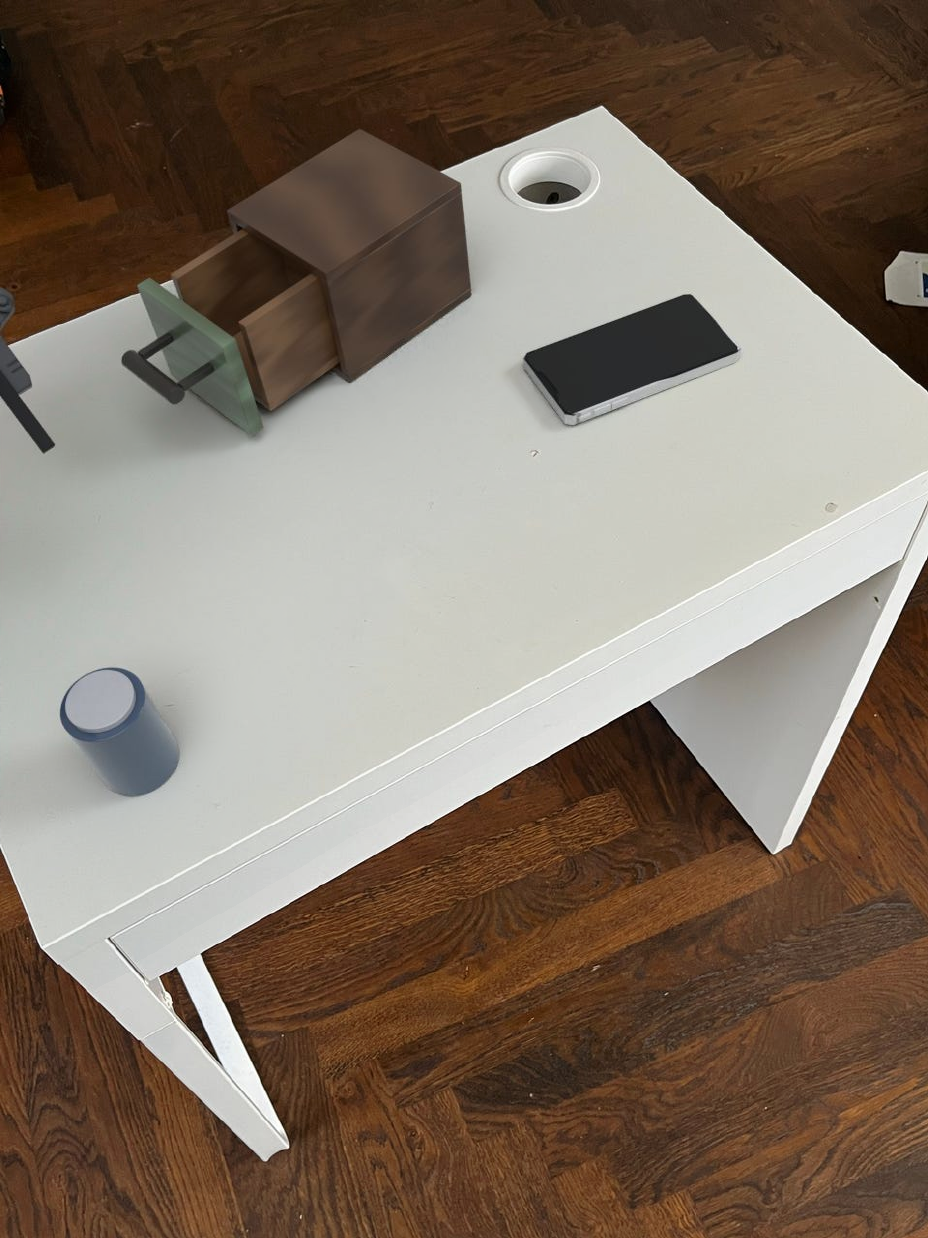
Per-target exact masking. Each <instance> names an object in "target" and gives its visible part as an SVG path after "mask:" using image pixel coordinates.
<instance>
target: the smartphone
mask: <svg viewBox="0 0 928 1238" xmlns="http://www.w3.org/2000/svg"><path fill="white" fill-rule="evenodd" d="M741 351H742V348H741V346H740V345H739V344H738V342H736V341H735V340H734V338H733V337H732V336H731V335H730V334H729V333H728V332H727V331H726V330H725V329H724V328H723V326H721V324H719V322H718V321H717V320H716V319H715V318H714V316H713V315H712V314H710V312H709V311H708V310H707V309H706V308H705V307H704V306H703V304H701V302H700V301H699V300H697V298H696V297H695V296H694V295H693V294H692V293H687V294H686V293H685V294H681V295H678V296H676V297H673V298H669V299H668V300H665V301H662V302H660V303H657V304H654V305H652V306H651V305H650V306H648V307H646V308H643V309H641V310H638V311H636V312H633V313H630V314H627V315H625V316H622V317H619V318H617V319H614V320H611V321H608V322H606V323H603V324H600V325H598V326H595V327H592V328H589V329H586V330H584V331H582V332H579V333H576V334H572V335H571V336H568V337H565V338H563V339H560V340H557V341H554V342H552V343H549V344H546V345H544V346H541V347H538V348H536V349H533V350H530V351H528V352H526V353H525V354H524V356H523V358H522V359H523V361H522V362H523V369H524V370H525V372H526V374H527V375H528V376H529V377H530V379H531V380H532V382H534V383H535V386H536V387H537V388H538V389H539V391H540V392H541V394H542V395H543V396H544V397H545V399H546V400H547V402H548V403H549V405H550V406H551V407H552V408H553V410H554V411H555V413H556V414H557V415H558V417H559V418H560V419H561V421H562V423H564V425H570V426H575V425H578V424H580V423H583V422H585V421H588V420H590V419H594V418H596V417H598V416H602V415H604V414H606V413H609V412H611V411H615V410H616V409H619V408H621V407H624V406H627V405H629V404H632V403H634V402H637V401H640V400H642V399H645V398H648V397H650V396H653V395H655V394H658V393H660V392H663V391H665V390H668V389H671V388H673V387H676V386H679V385H681V384H683V383H686V382H689V381H692V380H695V379H696V378H699V377H702V376H705V375H707V374H709V373H713V372H714V371H717V370H720V369H722V368H725V367H727V366H731V365H732V364H736V363H737V362H738V361H739V360H740V357H741Z"/></svg>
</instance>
